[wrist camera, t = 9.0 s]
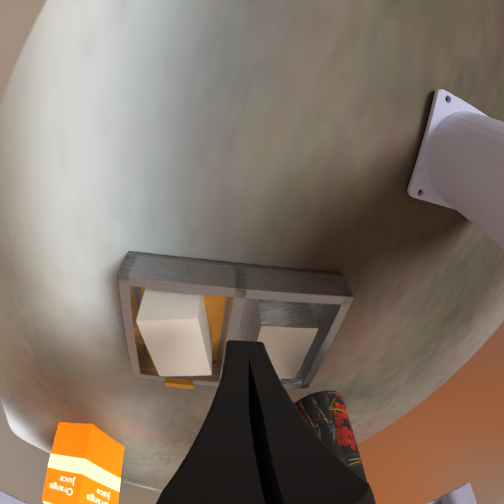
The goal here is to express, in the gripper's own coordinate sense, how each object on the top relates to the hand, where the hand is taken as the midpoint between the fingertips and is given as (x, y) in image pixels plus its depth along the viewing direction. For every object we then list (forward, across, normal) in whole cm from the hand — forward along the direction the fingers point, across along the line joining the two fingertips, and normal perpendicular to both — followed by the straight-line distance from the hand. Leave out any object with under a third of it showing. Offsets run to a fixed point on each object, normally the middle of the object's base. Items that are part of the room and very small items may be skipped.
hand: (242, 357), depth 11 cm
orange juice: (+10, +19, +38) cm, 43 cm away
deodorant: (+10, -12, +21) cm, 27 cm away
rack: (+10, 0, +8) cm, 12 cm away
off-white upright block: (+9, +3, +7) cm, 12 cm away
